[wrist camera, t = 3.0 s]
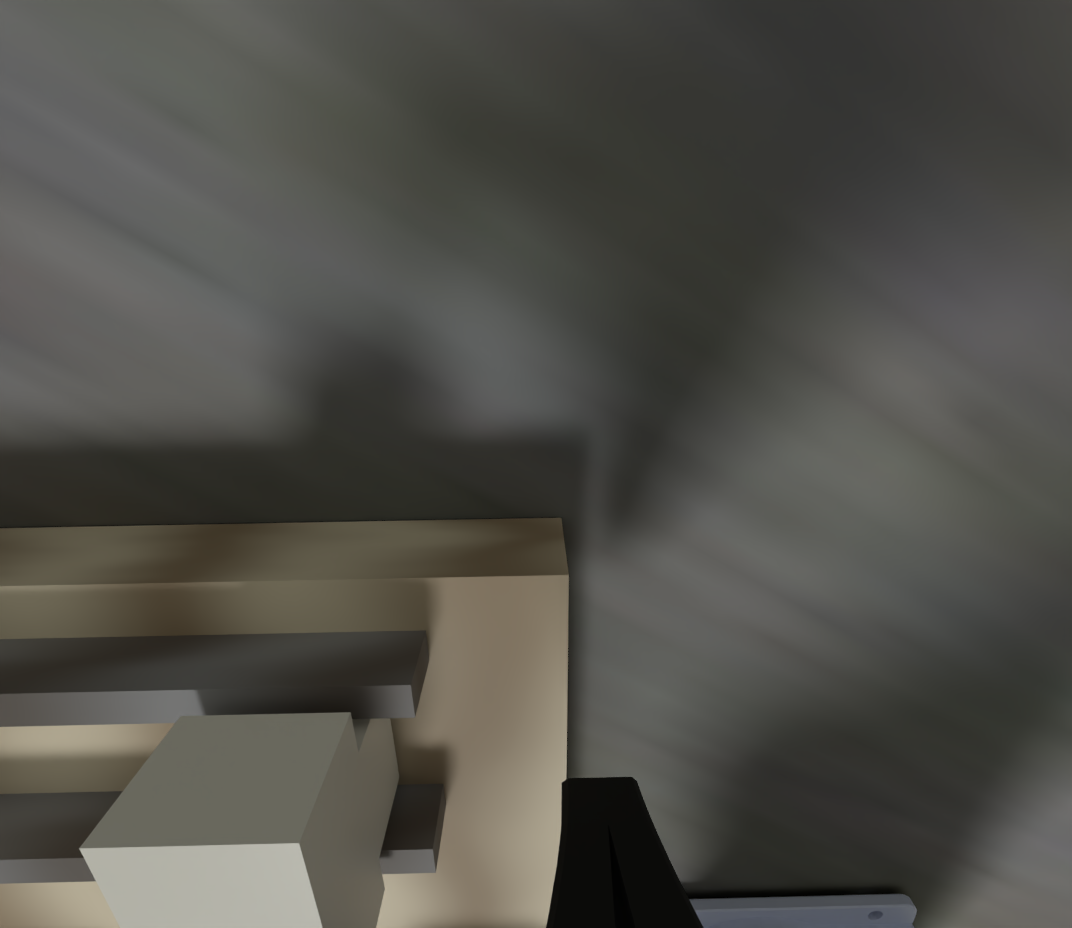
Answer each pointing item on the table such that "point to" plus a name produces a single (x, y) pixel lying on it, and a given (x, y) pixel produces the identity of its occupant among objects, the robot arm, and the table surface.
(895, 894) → the robot arm
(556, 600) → the control panel
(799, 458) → the table surface
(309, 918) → the slider knob
